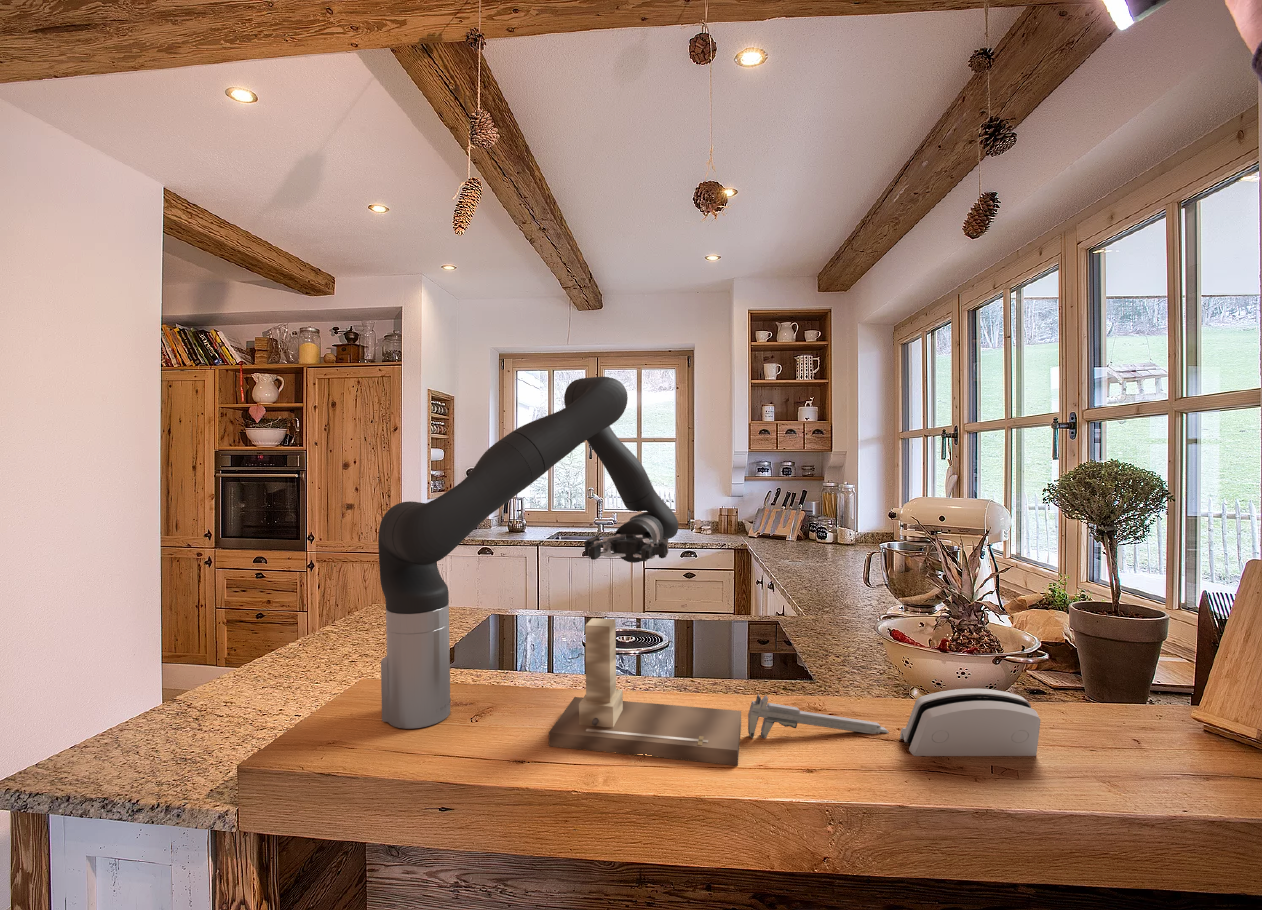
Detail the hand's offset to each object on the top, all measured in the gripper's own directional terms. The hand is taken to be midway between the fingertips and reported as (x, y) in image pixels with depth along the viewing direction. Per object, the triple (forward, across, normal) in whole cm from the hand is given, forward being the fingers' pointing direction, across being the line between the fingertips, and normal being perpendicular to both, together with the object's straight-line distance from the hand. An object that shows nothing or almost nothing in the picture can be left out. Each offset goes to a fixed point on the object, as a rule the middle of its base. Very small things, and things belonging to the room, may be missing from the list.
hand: (617, 554), depth 101 cm
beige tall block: (+11, 0, +22) cm, 25 cm away
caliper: (+6, +31, +24) cm, 40 cm away
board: (+11, +7, +24) cm, 27 cm away
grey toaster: (+7, +51, +24) cm, 57 cm away
